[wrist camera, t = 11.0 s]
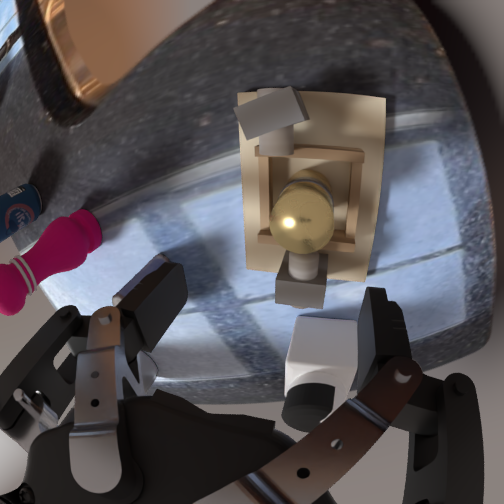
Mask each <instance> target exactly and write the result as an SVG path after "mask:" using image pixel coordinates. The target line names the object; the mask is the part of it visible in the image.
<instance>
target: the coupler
mask: <svg viewBox="0 0 504 504" xmlns="http://www.w3.org/2000/svg"><path fill="white" fill-rule="evenodd" d="M269 225H270V230H271V233H272V235H273V237H274V239H275V240H276V241H277V243H278V244H279V245H280V246H282V247H283V248H285V249H286V250H288V251H291V252H294V253H298V254H308V253H313V252H316V251H318V250H320V249H322V248H323V247H324V246H325V245H326V244H327V243H328V242H329V241H330V239H331V237H332V235H333V231H334V202H333V197H332V188H331V185H330V183H329V181H328V179H327V178H326V177H325V176H324V175H323V174H321V173H320V172H318V171H315V170H310V169H305V170H300V171H298V172H296V173H294V174H293V175H292V176H291V177H290V178H289V180H288V181H287V183H286V185H285V186H284V188H283V189H282V191H281V193H280V195H279V197H278V200H277V202H276V204H275V206H274V208H273V209H272V212H271V214H270V219H269Z"/></svg>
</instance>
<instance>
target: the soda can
mask: <svg viewBox="0 0 504 504" xmlns="http://www.w3.org/2000/svg"><path fill="white" fill-rule="evenodd" d="M41 210H42V201H41V197H40V194H39V192H38V190H37V188H36V187H35V186H34V185H30V184H23V185H21V186H19V187H17V188H15V189H13V190H11V191H9V192H7V193H5V194H3V195H1V196H0V243H1V242H2V241H4V240H5V239H7V238H8V237H10V236H11V235H13V234H14V233H16V232H17V231H19V230H20V229H22V228H24V227H25V226H27V225H28V224H30V223H32V222H33V221H35V220H36V219H37V218H38V216H39V215H40V213H41Z"/></svg>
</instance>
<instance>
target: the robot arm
mask: <svg viewBox="0 0 504 504" xmlns="http://www.w3.org/2000/svg"><path fill="white" fill-rule="evenodd" d="M187 298H188V290H187V285H186V280H185V275H184V270H183V266H182V265H181V264H180V263H172V262H164V263H163V264H162V265H161V266H160V267H159V268H158V269H157V270H156V271H153V272H151V273H149V274H148V275H146V276H145V277H144V278H143V279H142V280H141V281H140V282H139V284H137V285H136V286H135V287H134V289H132V290H131V291H130V292H129V293H128V294H127V295H126V296H125V297H124V298H123V299H122V300H121V301H120V302H119V303H118V304H117V305H116V306H115V307H113V306H106V307H102V308H100V309H98V310H97V311H95V312H94V313H93V314H92V316H84V315H80V313H79V311H78V309H77V307H76V306H73V305H68V306H64V307H62V308H60V309H59V310H58V311H56V312H55V314H54V315H53V316H52V317H51V318H50V319H49V320H48V321H47V322H46V323H45V324H44V325H43V326H42V327H41V328H40V329H39V331H38V332H37V333H36V334H35V335H34V336H33V337H32V338H31V339H30V341H29V342H28V343H27V344H26V345H25V346H24V347H23V349H22V350H21V351H20V352H19V353H18V355H16V357H15V358H14V359H13V360H12V361H11V363H10V364H9V365H8V366H7V368H6V369H5V370H4V371H3V373H2V374H1V375H0V429H1V430H2V431H3V432H4V433H6V434H7V435H8V436H9V437H10V438H12V439H13V440H14V441H16V442H17V443H18V444H19V445H20V446H21V447H22V448H23V449H24V450H25V451H26V452H27V453H28V459H27V467H26V472H25V476H24V479H23V482H22V484H21V485H20V486H19V487H18V488H17V489H15V490H14V491H12V492H9V493H7V494H4V495H0V504H337V503H336V502H335V500H334V499H333V497H332V496H331V494H330V492H329V491H328V489H329V488H331V487H332V486H333V485H334V484H335V483H336V482H337V481H338V480H340V479H341V478H342V477H343V476H344V475H345V474H346V473H347V472H348V471H349V470H350V469H351V468H352V467H353V466H354V465H355V464H356V463H357V462H358V461H359V460H360V459H361V458H362V457H363V456H364V455H365V454H366V453H367V452H368V451H369V449H370V448H371V447H372V446H373V445H374V444H375V443H376V441H378V439H379V438H380V437H381V436H382V435H383V434H384V432H385V431H386V430H387V429H388V427H389V426H392V427H396V428H399V429H402V430H405V431H409V449H408V463H407V474H406V483H405V490H404V497H403V503H402V504H483V496H484V450H483V438H482V427H481V419H480V412H479V405H478V399H477V394H476V389H475V385H474V383H473V381H472V380H471V379H470V378H469V377H468V376H466V375H464V374H462V373H453V374H450V375H449V376H448V377H447V378H446V379H445V380H444V381H443V380H440V379H436V378H433V377H430V376H427V375H425V374H423V371H422V369H421V367H420V365H419V364H418V363H417V362H416V361H415V360H413V359H412V355H411V349H410V344H409V339H408V334H407V330H406V325H405V322H404V316H403V312H402V310H401V308H400V307H399V306H398V304H397V303H396V302H394V301H388V299H387V294H386V290H385V288H377V287H367V288H366V291H365V295H364V299H363V303H362V307H361V310H360V314H359V318H358V326H357V339H358V382H357V395H356V396H355V397H354V398H353V399H348V400H346V401H345V402H344V403H343V404H342V405H340V406H339V407H338V408H337V409H336V410H335V411H334V412H333V413H332V414H331V415H330V416H328V417H327V418H326V419H325V420H324V421H323V422H322V423H320V424H319V425H318V426H317V427H316V428H314V429H313V430H312V431H311V432H310V433H308V434H307V435H306V436H305V437H303V438H302V439H301V440H300V441H298V442H295V441H294V440H293V439H292V438H290V437H289V436H288V435H286V434H284V433H282V432H281V431H278V430H276V429H275V421H272V420H267V419H262V418H257V417H252V416H247V415H236V414H232V415H231V414H211V413H207V412H205V411H204V410H202V409H200V408H198V407H197V406H195V405H193V404H192V403H190V402H189V401H187V400H185V399H184V398H182V397H179V396H176V395H173V394H170V393H167V392H164V391H162V390H159V389H156V391H155V393H154V394H153V396H146V393H147V392H148V390H149V389H150V387H151V385H152V384H153V382H154V381H155V379H156V374H157V372H158V370H157V367H156V365H155V363H154V362H153V361H152V359H151V358H150V357H149V356H148V355H146V354H145V353H144V352H143V351H141V350H144V351H146V352H149V353H151V352H152V350H153V349H154V347H155V346H156V344H157V343H158V342H159V340H160V339H161V337H162V336H163V335H164V333H165V332H166V330H167V329H168V328H169V326H170V325H171V323H172V322H173V321H174V319H175V318H176V316H177V315H178V314H179V312H180V311H181V309H182V308H183V307H184V305H185V304H186V301H187ZM65 344H66V345H67V346H68V348H69V350H70V351H71V353H70V354H69V355H68V357H67V358H66V359H65V361H64V362H63V363H62V364H61V366H60V367H59V368H58V369H57V370H56V369H55V367H54V365H53V360H54V357H55V356H56V355H57V353H58V352H59V351H60V350H61V349H62V347H63V346H64V345H65ZM74 396H75V404H74V406H73V407H72V408H71V410H70V411H69V413H68V414H67V416H66V417H65V418H64V420H63V421H62V422H61V424H60V425H59V426H58V425H57V424H58V420H59V419H60V417H61V415H62V414H63V412H64V411H65V409H66V408H67V406H68V405H69V403H70V402H71V400H72V399H73V397H74Z"/></svg>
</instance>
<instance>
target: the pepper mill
mask: <svg viewBox="0 0 504 504" xmlns="http://www.w3.org/2000/svg"><path fill="white" fill-rule="evenodd" d="M101 241H102V233H101V229H100V226H99V223H98V222H97V220H96V218H95V217H94V216H93V215H92V214H91V213H90V212H89V211H87V210H84V209H80V210H78V211H76V212H74V213H72V214H71V215H70V216H69V218H68V217H59V218H57V219H56V220H54V221H53V222H52V223H50V225H49V226H48V227H47V228H46V229H45V231H44V232H43V234H42V235H41V237H40V238H39V240H38V241H37V243H36V244H35V245H34V246H33V247H32V248H31V249H30V250H29V251H28V252H27V253H25V254H23V255H22V256H19V255H16V256H15V258H13V259H10V261H9V265H6V264H0V313H2V314H4V315H7V316H10V315H14V314H16V313H18V312H19V311H20V310H21V309H22V308H23V306H24V304H25V299H26V296H31V295H32V293H33V292H35V291H36V290H37V285H38V284H39V283H40V282H41V281H43V280H44V279H46V278H47V277H49V276H51V275H53V274H56V273H60V272H66V271H70V270H73V269H75V268H77V267H78V266H80V265H81V264H83V263H84V261H85V260H86V258H87V253H91V252H93V251H94V250H95V249H97V248H98V247H99V246H100V244H101Z"/></svg>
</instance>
